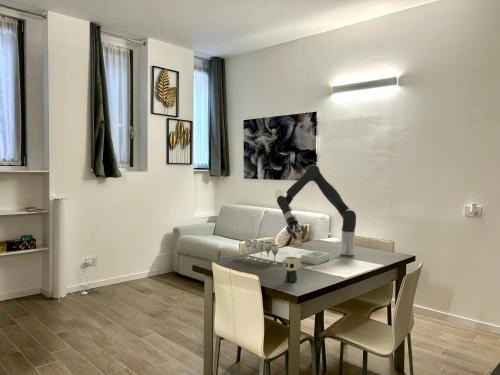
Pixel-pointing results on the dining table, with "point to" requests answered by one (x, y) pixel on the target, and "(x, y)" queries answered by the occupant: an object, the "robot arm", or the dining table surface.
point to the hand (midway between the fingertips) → (299, 238)
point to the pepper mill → (298, 238)
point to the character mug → (291, 268)
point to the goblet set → (261, 248)
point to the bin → (315, 257)
